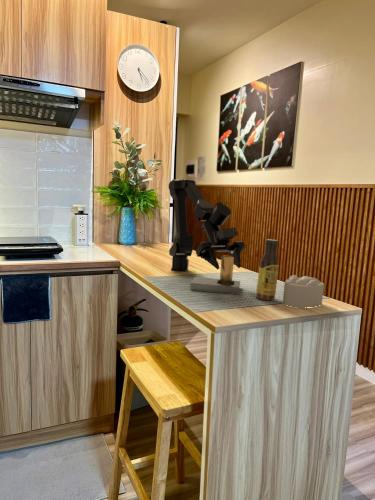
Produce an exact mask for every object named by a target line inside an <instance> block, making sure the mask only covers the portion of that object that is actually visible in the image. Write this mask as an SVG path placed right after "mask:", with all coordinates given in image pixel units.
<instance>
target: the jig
mask: <svg viewBox="0 0 375 500" xmlns="http://www.w3.org/2000/svg"><path fill="white" fill-rule="evenodd" d="M189 285H190V286H189V290H190V291H197V292H198V291H200V292H210V293H221V294H229V295H239V294H240V289H241V288H240V287H241V281H240V280H233V279H232V285H226V284H220V278H213V277H201V276H194V277H193V279H192V280H191V282H190V284H189Z"/></svg>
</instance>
